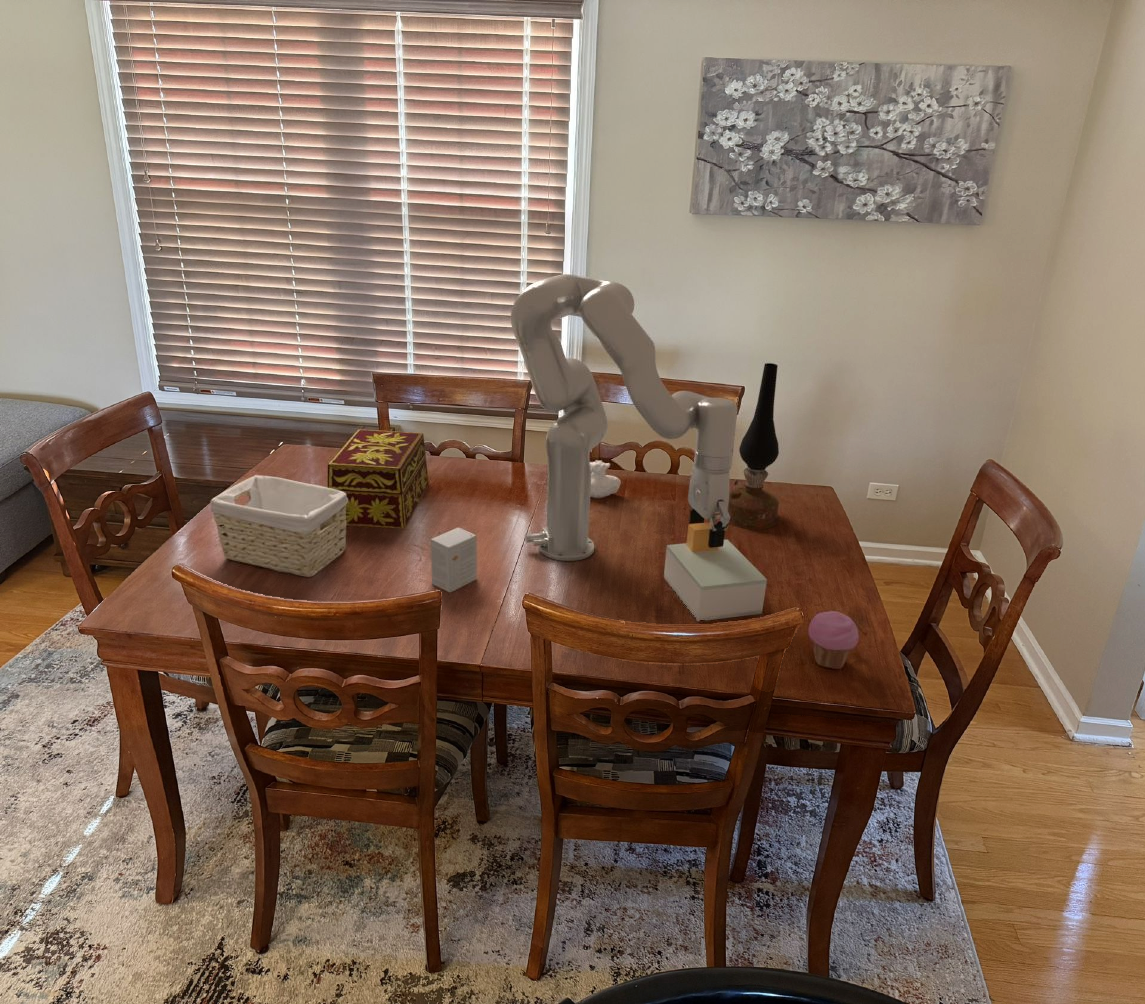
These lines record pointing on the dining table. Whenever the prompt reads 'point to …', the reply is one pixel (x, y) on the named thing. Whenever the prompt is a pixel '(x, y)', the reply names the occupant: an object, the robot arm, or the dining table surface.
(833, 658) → the cupcake
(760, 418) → the oil lamp
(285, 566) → the storage basket
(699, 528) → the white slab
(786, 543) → the dining table surface
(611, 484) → the duck figurine
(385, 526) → the decorative box
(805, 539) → the dining table surface
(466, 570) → the small box
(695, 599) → the tub
